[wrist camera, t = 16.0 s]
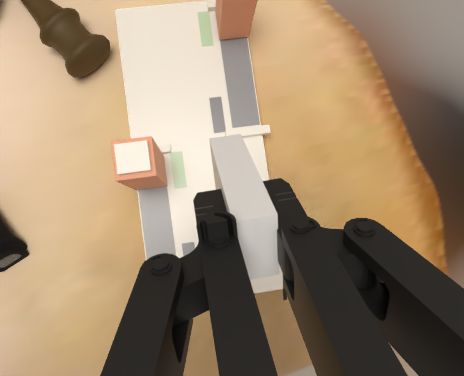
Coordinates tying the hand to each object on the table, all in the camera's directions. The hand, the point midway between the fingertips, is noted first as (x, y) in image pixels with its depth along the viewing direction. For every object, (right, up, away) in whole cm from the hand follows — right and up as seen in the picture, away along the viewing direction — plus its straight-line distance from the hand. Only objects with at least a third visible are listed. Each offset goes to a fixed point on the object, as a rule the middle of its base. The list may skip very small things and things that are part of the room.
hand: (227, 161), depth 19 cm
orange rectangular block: (0, +15, +22) cm, 26 cm away
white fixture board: (-3, +3, +22) cm, 23 cm away
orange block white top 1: (-8, 0, +20) cm, 21 cm away
